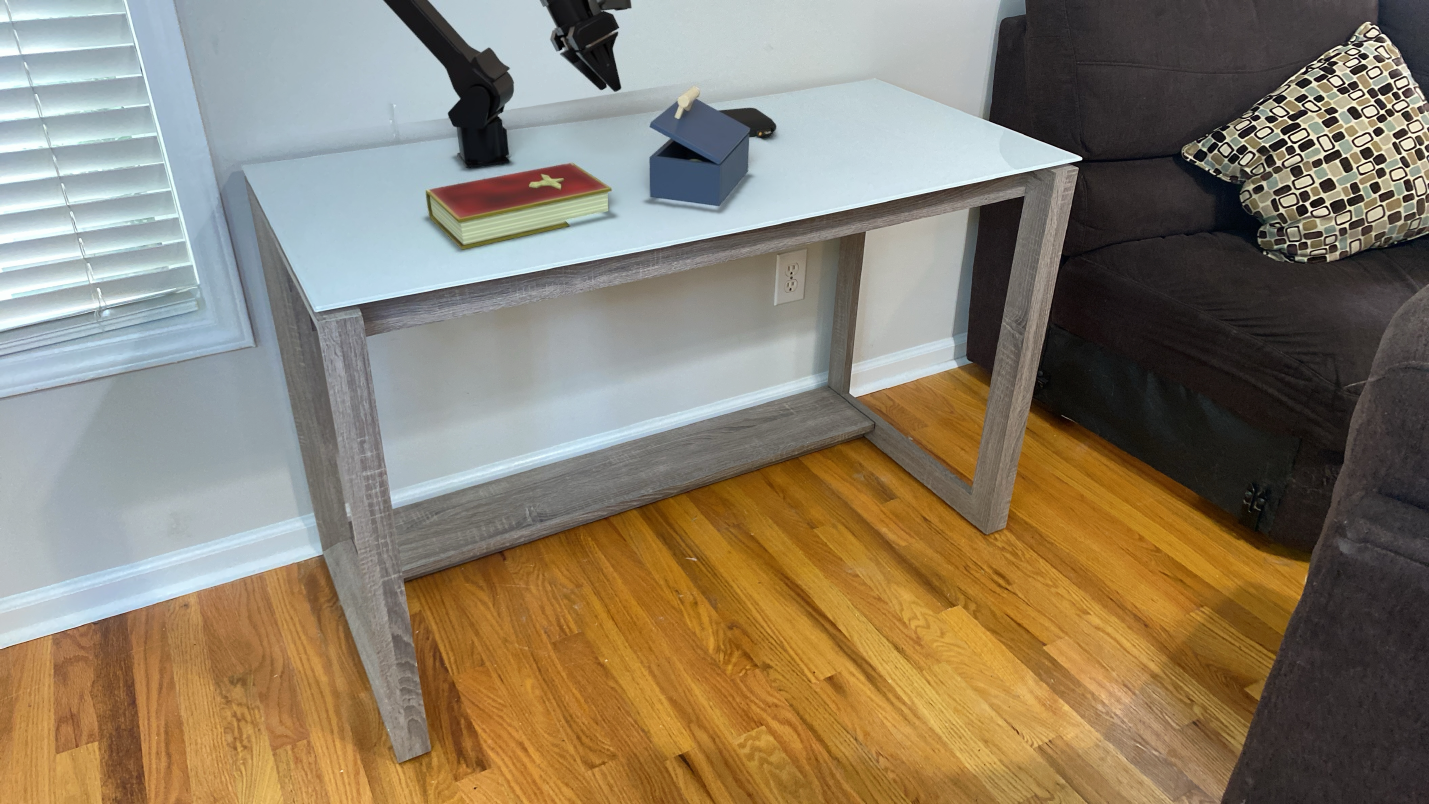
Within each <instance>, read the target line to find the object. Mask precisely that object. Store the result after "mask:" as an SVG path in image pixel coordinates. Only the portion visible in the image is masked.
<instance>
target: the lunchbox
mask: <svg viewBox="0 0 1429 804" xmlns="http://www.w3.org/2000/svg"><path fill="white" fill-rule="evenodd" d="M749 152H750V137H749V134H747V135H746V136H745V137H744V138H743V139H742V140H741V141H740V143H739V144H738V145H737V146H736V147H735V148H734V149H733V150H732V151H731V152H730V153H729V155H728V156H727V157H726V158H725V159H724V160H723V161H722V162H721V163H720V164H719V165H718V164H717V163H715V162H713V161H711V160H709V159H707V158H706V157H704V156H702V155H700V154H698V153H696V152H695V151H693V150H691V149H689V148H687V147H685V146H684V145H682V144H680V143H678V142H676V141H674V140H673V139H671V138H668V140H667V141H666V142H665V143H664V144H662V145H661V146H660V147H659V148H658V149H657V150H656V151H654V153H652V154H651V155H650V156H649V197H650V198H655V199H663V200H669V201H678V202H685V203H691V204H700V205H706V206H715V207H720V206H721V205H722V203H723V202H724V201H725V200H726V199H727V198H728V196H729V195H730V194H731V192H733V190H734V189H735V188H736V187H737V185H738V184H739V183H740V182H741V181H742V179H743V178H744V177H745V176H746V175H747V173H748V172H749V155H750V153H749ZM691 159H697V160H700V161H702V162H700V161H692V160H691Z"/></svg>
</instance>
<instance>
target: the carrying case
mask: <svg viewBox="0 0 1429 804" xmlns="http://www.w3.org/2000/svg"><path fill="white" fill-rule="evenodd" d="M717 110H718V111H720V112H721V113H723V114H725V115H727V116H729V117H731V118H733V119H734V120H736V121H738V122H740V123H742V124H744V125H745V126H747V127H749V128H750V131H749V133H748V134H749V138H750V137H757V138H759V139H763V138H768V137H770V136H772V135H773V134H774V133H775V131H776V130H777V124H776V123H775V122H774V120H773V119H772V118H771V117H770V116H768V115H766V114H765V113H763V112H762V111H761V110H759V109H758V108H755V107H741V108H740V107H739V108H729V109H717Z"/></svg>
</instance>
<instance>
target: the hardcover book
mask: <svg viewBox="0 0 1429 804" xmlns="http://www.w3.org/2000/svg"><path fill="white" fill-rule="evenodd" d="M609 192H612V187H610V186H609V185H607V184H606V183H605V182H603V181H602V180H600V179H598V178H596V177H595V176H593V175H592V174H590V173H589V172H588V171H586V170H585V169H583V168H582V167H580V166H578V165H577V164H576V163H574V162H568V163H562V164H556V165H551V166H546V167H542V168H535V169H530V170H524V171H519V172H513V173H508V174H504V175H498V176H493V177H487V178H482V179H476V180H472V181H465V182H461V183H456V184H449V185H444V186H439V187H434V188H428V189H426V190H425V199H426V200H425V201H426V206H427V212H428V217H429V219H430V220H431V221H432V222H433V223H434V224H435V225H436V226H437V227H438V228H439V229H440V230H441V231H443V232H444V233H445V234H446V236H447V237H449V238H450V240H452V241H453V242H454V243H455V244H456V246H458V247H459V248H460V249H461V250H466V249H471V248H476V247H480V246H485V245H490V244H494V243H499V242H503V241H507V240H511V239H517V238H522V237H526V236H530V235H535V234H538V233H544V232H548V231H554V230H557V229H562V228H566V227H570V226H571V225H570V224H569V222H567V221H568V220H572V219H577V218H581V217H587V216H591V215H595V214H600V213H601V214H602V213H605V212H609Z"/></svg>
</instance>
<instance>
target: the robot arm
mask: <svg viewBox="0 0 1429 804" xmlns="http://www.w3.org/2000/svg"><path fill="white" fill-rule="evenodd" d="M382 1H383V2H384V4H386V6H387V7H388V8H389V9H390V10H391V11H392V12H393V13H394V14H395V16H397V17H398V19H399V20H400V21H401V22H402V23H403V24H404V25H405V26H406V27H407V28H408V29H409V30H410V31H411V32H412V34H413V35H414V36H415V37H416V38H417V39H418V40H419V41H420V42H421V43H422V44H423V45H424V46H425V48H426V49H427V50H428V51H429V52H430V53H431V54H432V55H433V56H434V57H435V58H436V59H437V61H438V62H439V63H440V64H441V65H442V66H443V67H444V69H445V71H446V73H447V76H448V79H449V81H450V83H451V86H452V88H453V90H454V92H455V94H456V95H457V96H458V98H459V99H458V100H457V102H456V103H455V104H454V105H453V106H452V107H451V108H450V110H449V111H448V112H447V117H448V118H449V121H450V122H451V124H452V127H454V128H456V135H457V142H458V151H459V152H457V153H456V156H457V158H458V159H459V160H460V162H461V163H462V164H463V165H464V167H465V168H466V169H476V168H483V167H490V166H497V165H498V166H499V165H506V164H509V163H510V158H509V157H508V156H509V155H510V149H509V140H508V139H509V138H508V129H507V128H506V127H505V126H504V125H503V119H502V118H501V117H500V116H499V115H500V114H502V113H504V110H505V107H506V104H507V103H509V102H510V101H511V99H512V98H513V96H514V92H515V82H514V81H515V80H514V78H513V77H512V75H511V74H510V72H508V71H510V69H511V67H510V66H508V65H507V64H505V63H503V62H502V61H501V60H500V58H499V57H498V56H497V54H496V52H495V51H494V50H493V49H492V48H491V47H487V48H485V49H484V50H482V51H480V50H477V49H476V48H474V47H473V46H471V45H470V44H469V43H468V42H466V40H465V39H464V38H463V37H462V36H461V35H460V34H459V33H458V32H457V30H455V28H454V27H453V26H452V25H451V24H450V22H448V21H447V19H446V18H445V17H444V16H443V15H442V14H441V12H439V11H438V10H437V8H436V7H435V6H434V5H433V4H432V2H430V0H382ZM539 2H540V3H541V5H542V7H543V8H544V7H545V8H546V10H547V12H548V13H549V16H550V18H551V19H552V22H553V24H554V26H555V27H554V29H552V31H551V35H550V38H549V40H550V42H551V44H552V47H553V48H554V50H555V52H560V51H561V52H560V53H559V55H560V56H561V57H562V58H563V59H565V61H567V62H568V63H569V64H571V65H572V67H574V68H575V69H576V70H577V71H578V72H579V73H580V74H581V75H583V76H584V77H585V78H586V79H587V80H588V81H589V82H590V83H592V84H593V85H594V86H595V87H596V88H597V89H598V90H600V91H604V90H606V89H607V88H608V87H609V88H610V90H612V92H614V93H617V92H619V91H620V90H622V83H621V79H620V76H619V71H618V67H617V62H616V58H615V53H614V46H615V43H616V40H617V37H619V31H617V30H618V29H620V26H619V24H618V22H617V19H616V18H615V15H614V14H613V13H611V12H608V11H612V10H613V11H615V12H617V11H626V10H628V9H629V10H631V9H632V8H633V7H632V6H633V5H632V0H539ZM562 50H563V51H562Z"/></svg>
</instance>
